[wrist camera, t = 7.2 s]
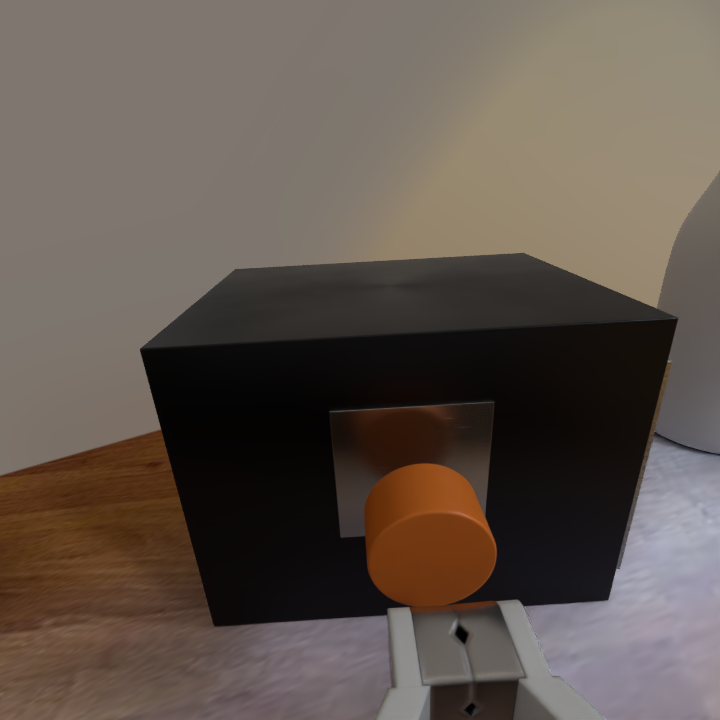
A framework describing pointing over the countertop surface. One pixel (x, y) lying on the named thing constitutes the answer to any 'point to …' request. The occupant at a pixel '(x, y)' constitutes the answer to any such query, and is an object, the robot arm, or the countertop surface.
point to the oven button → (427, 536)
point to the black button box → (406, 423)
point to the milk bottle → (694, 329)
